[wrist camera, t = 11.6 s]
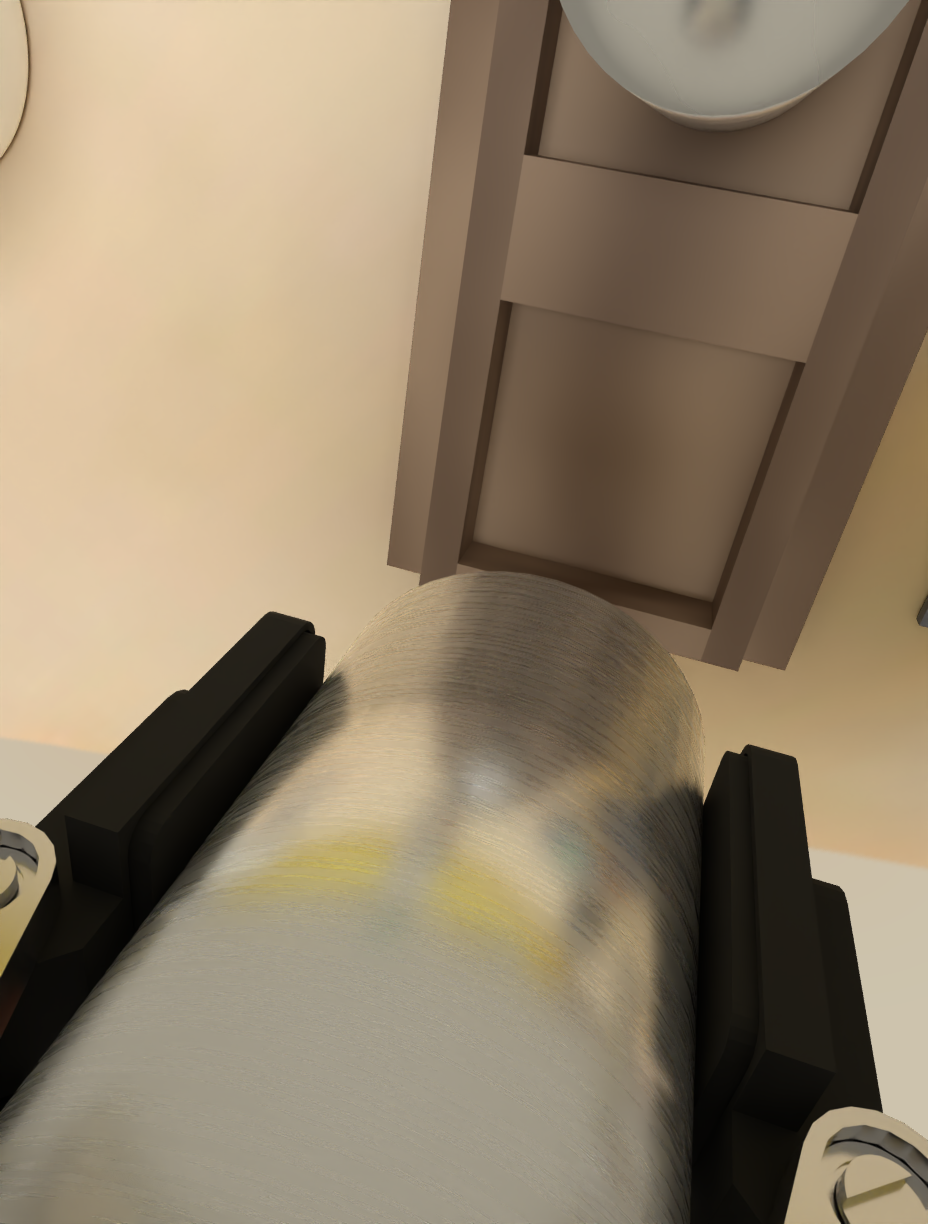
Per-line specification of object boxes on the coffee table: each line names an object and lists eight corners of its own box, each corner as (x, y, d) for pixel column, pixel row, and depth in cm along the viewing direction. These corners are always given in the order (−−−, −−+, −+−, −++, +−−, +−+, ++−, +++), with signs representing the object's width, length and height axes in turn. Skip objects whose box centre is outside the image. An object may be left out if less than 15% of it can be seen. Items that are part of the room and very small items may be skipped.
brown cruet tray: (1173, -303, 14) (1260, -393, 12) (782, 649, 25) (788, 701, 22) (509, -354, 16) (472, -441, 14) (399, 549, 27) (367, 587, 24)
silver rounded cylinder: (765, 642, 10) (888, 2102, 2) (639, 919, 12) (517, 2026, 5) (364, 523, 10) (-478, 1389, 3) (325, 808, 13) (-183, 1648, 6)
